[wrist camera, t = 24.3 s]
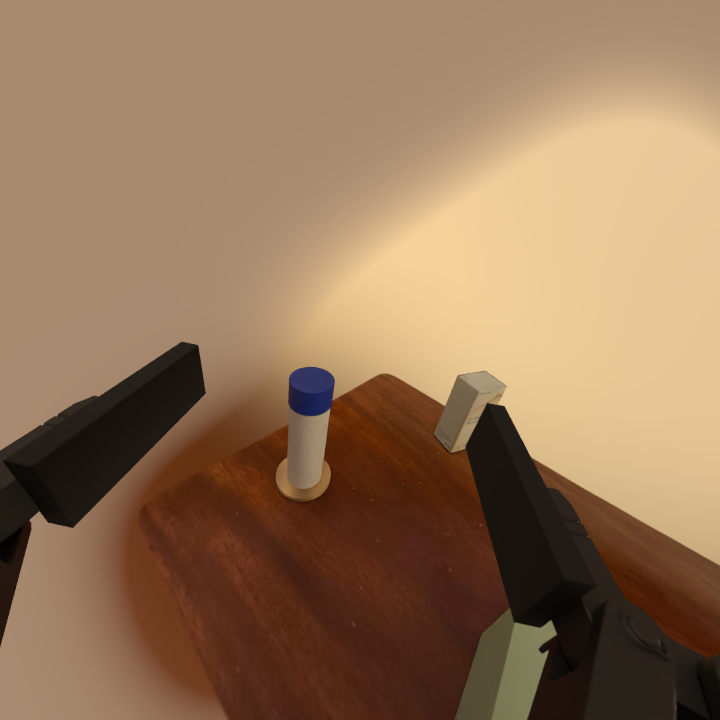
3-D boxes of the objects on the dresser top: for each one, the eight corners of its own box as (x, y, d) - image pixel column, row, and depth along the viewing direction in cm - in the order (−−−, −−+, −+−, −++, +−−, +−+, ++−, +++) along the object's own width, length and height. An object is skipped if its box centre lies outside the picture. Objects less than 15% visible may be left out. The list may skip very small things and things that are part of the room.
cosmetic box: (449, 454, 44) (478, 393, 38) (432, 434, 47) (456, 374, 41) (478, 445, 47) (509, 386, 40) (459, 426, 50) (485, 369, 44)
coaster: (278, 508, 32) (279, 505, 32) (272, 459, 38) (272, 457, 38) (336, 494, 35) (337, 491, 35) (323, 450, 41) (323, 448, 40)
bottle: (288, 493, 34) (293, 395, 26) (283, 462, 37) (286, 368, 30) (326, 485, 35) (340, 390, 28) (317, 456, 39) (328, 365, 31)
